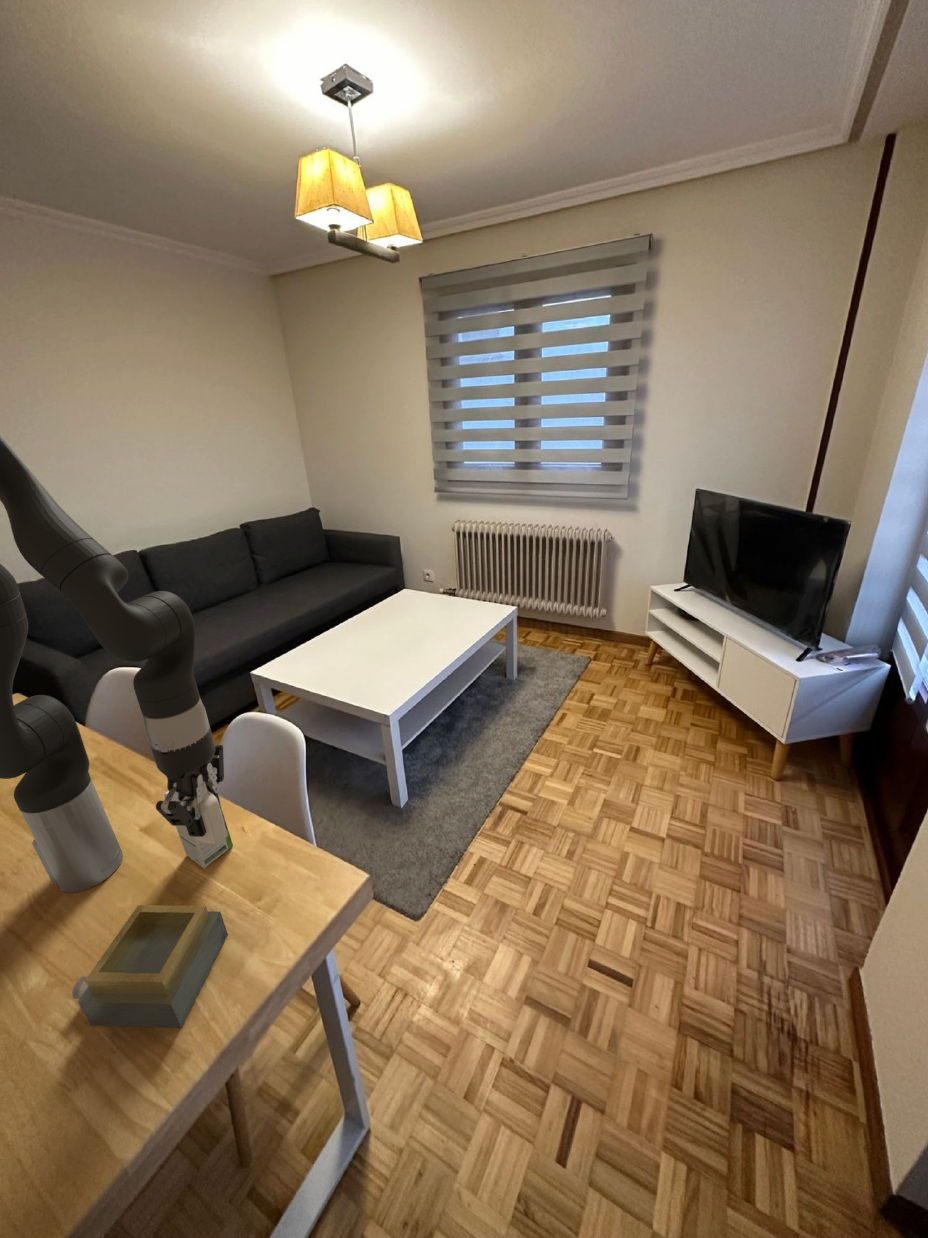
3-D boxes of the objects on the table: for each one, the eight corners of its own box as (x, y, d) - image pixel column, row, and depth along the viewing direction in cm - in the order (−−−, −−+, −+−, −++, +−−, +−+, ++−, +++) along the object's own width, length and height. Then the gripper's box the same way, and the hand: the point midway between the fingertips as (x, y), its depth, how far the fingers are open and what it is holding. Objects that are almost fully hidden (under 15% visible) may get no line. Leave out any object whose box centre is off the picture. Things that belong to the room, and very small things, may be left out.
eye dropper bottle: (198, 855, 72) (179, 793, 67) (191, 832, 76) (173, 772, 72) (229, 840, 74) (213, 779, 70) (221, 819, 79) (205, 760, 74)
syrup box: (204, 870, 83) (182, 805, 77) (185, 855, 86) (162, 792, 80) (233, 846, 87) (215, 783, 81) (214, 833, 90) (195, 772, 84)
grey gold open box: (68, 1025, 62) (47, 988, 59) (131, 933, 73) (116, 898, 70) (181, 1028, 61) (165, 991, 58) (228, 934, 72) (216, 899, 69)
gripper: (183, 703, 74) (207, 790, 81) (118, 765, 61) (154, 862, 68) (230, 704, 74) (250, 791, 81) (175, 766, 61) (205, 863, 68)
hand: (206, 823), depth 74 cm, fingers closed on eye dropper bottle, 3 cm apart
